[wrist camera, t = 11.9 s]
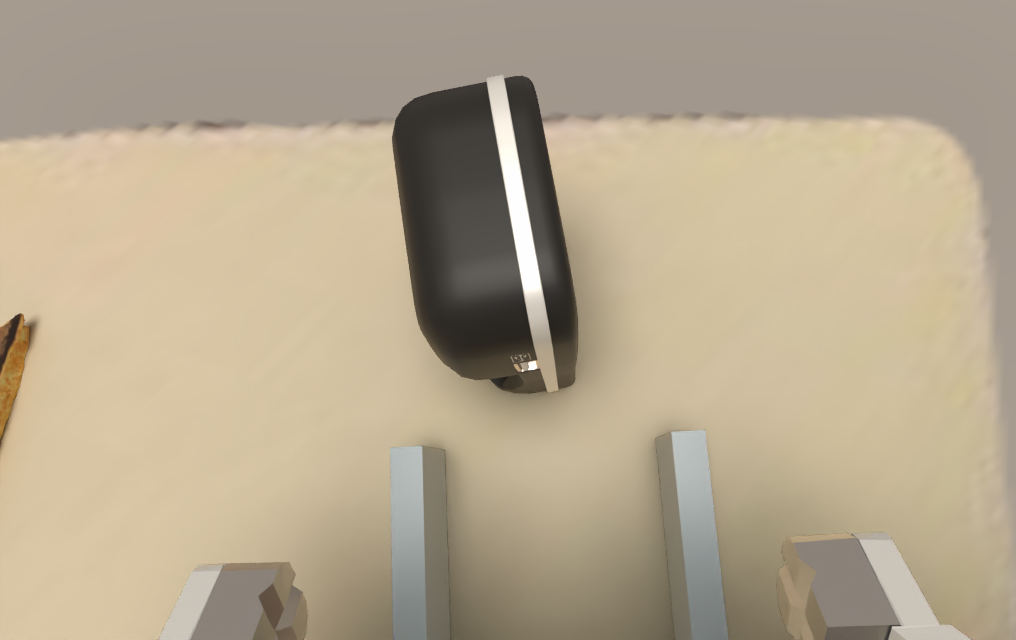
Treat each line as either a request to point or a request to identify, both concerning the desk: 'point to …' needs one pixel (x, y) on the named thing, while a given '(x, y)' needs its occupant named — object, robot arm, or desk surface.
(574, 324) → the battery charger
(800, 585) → the robot arm
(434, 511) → the channel
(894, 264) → the desk surface
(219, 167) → the desk surface
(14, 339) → the shard
